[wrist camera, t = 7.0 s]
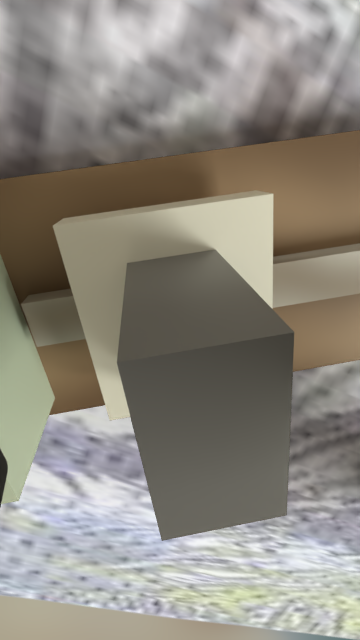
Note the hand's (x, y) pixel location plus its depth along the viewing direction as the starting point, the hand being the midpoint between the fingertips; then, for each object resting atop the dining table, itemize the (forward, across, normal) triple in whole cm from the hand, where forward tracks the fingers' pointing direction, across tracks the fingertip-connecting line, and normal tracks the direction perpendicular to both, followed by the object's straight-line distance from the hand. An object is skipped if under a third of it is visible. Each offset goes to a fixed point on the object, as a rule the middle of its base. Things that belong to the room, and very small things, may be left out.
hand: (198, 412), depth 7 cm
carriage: (+6, 0, 0) cm, 7 cm away
